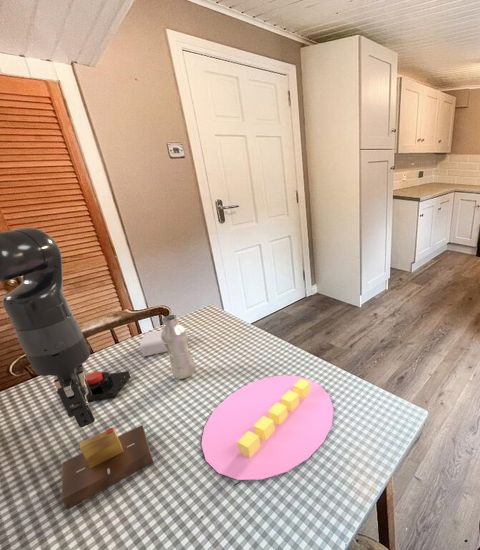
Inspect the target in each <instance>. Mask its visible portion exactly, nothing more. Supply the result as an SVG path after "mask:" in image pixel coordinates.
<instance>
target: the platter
mask: <svg viewBox="0 0 480 550" xmlns="http://www.w3.org/2000/svg"><path fill="white" fill-rule="evenodd" d="M333 418H334V406H333V403H332V400H331V397H330V395H329V393H328V392H327V391H326V390H325V389H324V388H323V386H322V385H320V384H318V383H317V382H315V381H314V380H311V379H309V378H307V377H306V378H305V377H302V376H298V375H275V376H270V377H264V378H260V379H258V380H255V381H253V382H251V383H248V384H245V385H243V386H241V387H240V388H239V389H237V390H236V391H234V392H233V393H231V394H230V395H228V396H227V397H226V398H225V399H224V400H222V402H220V404H218V405H217V407H216V408H214V410H213V411H212V413H211V414H210V416H209V417H208V419H207V422H206V423H205V424H204V427H203V432H202V437H201V444H200V445H201V449H202V452H203V456H204V459H205V462H207V463H208V464H209V465H210V466H211V468H213V470H214V471H215V472H216V473H217V474H219V475H223V476H225V477H228V478H231V479H234V480H236V481H257V480H258V481H263V480H266V479H269V478H272V477H275V476H279V475H282V474H285V473H288V472H289V471H291V470H293V469H294V468H296V467H297V466H299V465H301V464H302V463H304V462H305V461H307V460H309V459H310V458H311V456H312V455H313V454H314V453H315V452H316V451H317V450H318V449H319V448H320V447H321V446H322V445H323V443H324V442H325V440H326V438H327V436H328V435H329V432H330V431H331V428H332V426H333V420H334V419H333Z"/></svg>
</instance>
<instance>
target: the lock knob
mask: <svg viewBox="0 0 480 550" xmlns="http://www.w3.org/2000/svg"><path fill="white" fill-rule="evenodd" d="M118 436H119V435H118V433H117V432H116V429H115V427H113V426H112V427H110V428H107V429H106V430H105V431H103V432H100V433H98V434H96V435H94V436H91V437H89V438H87V439H85V440H82V441H80V442H79V448H80V451H81V454H82V453H83V455H84V457H85V459H86V461H87V463H88V465H89V467H90V468H92V467H94V466H96V465H98V464H100V463H102V462H104V461H106V460H108V459H110V458H112V457H114V456H116V455H118V454H120V453H122V452H123V448H122V445H121V443H120V440H119V438H118Z"/></svg>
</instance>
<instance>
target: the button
mask: <svg viewBox="0 0 480 550" xmlns="http://www.w3.org/2000/svg"><path fill="white" fill-rule="evenodd" d="M101 372H102V371H93V372H91V373H89V374H87V383H88V385H91V384H95V383H98V382H99V381H101V380H102V379H103V375H102V373H101Z"/></svg>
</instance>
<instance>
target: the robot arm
mask: <svg viewBox="0 0 480 550" xmlns="http://www.w3.org/2000/svg"><path fill="white" fill-rule="evenodd" d="M20 277H22V280H21V283H20V284H19V285H18V286H17V287H16V288H14V289H13V290H10V291H9V292H8V293H6V295H4V296H3V298H2V302H1V303H2V306H3V309H4V311H5V313H6V314H7V316H8V318H9V320H10V322H11V324H12V326H13V329H14V330H15V333H16V337H17V341H18V342H19V344H20V347H21V348H22V350H23V352H24V354H25V356H26V359H27V361H28V362H29V364H30V366H31V368H32V370H33V372H34V373H35V375H38V376H41V377H49V376H54V377H55V379H54V380H53V382H54V386H55V388H56V389H57V390H56V393H57V394H56V395H58V396H59V398H60V400H61V402H62V404H63V407H64V408H65V410H66V412H67V416H68V417H69V418H74V420H75V421H76V424H77V425H78V427H79V428H84V427H87V426H89V425H92V424H93V423H95V422H96V420H95V418H96V417H95V416H94V414H93V411H92V409H91V407H90V402H88V401H87V399H89V398H91V397H92V392H91V390H90V388H89V386H88V383H87V375H88V374H87V371H86V368H85V365H84V363H85V362H86V361H88V360H89V359H90V357H91V350H90V348H89V346H88V343H87V341H86V339H85V336H84V334H83V331H82V328H81V327H80V325H79V322H78V320H77V319H76V317H75V316H74V314H73V313H72V310H71V308H70V305H69V303H68V301H67V298H66V296H65V294H64V283H63V282H64V277H63V257H62V252H61V249H60V247H59V245H58V243H57V242H56V241H55V239H54V238H53V237H52V236H51V235H50V234H49V233H47V232H46V231H44V230H42V229H39V228H37V227H36V228H35V227H20V228H15V229H11V230H7V231H6V230H4V231H1V232H0V283H3V282H9V281H12V280H14V279H17V278H20ZM85 381H86V382H85ZM78 402H80V404H75V403H78Z"/></svg>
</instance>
